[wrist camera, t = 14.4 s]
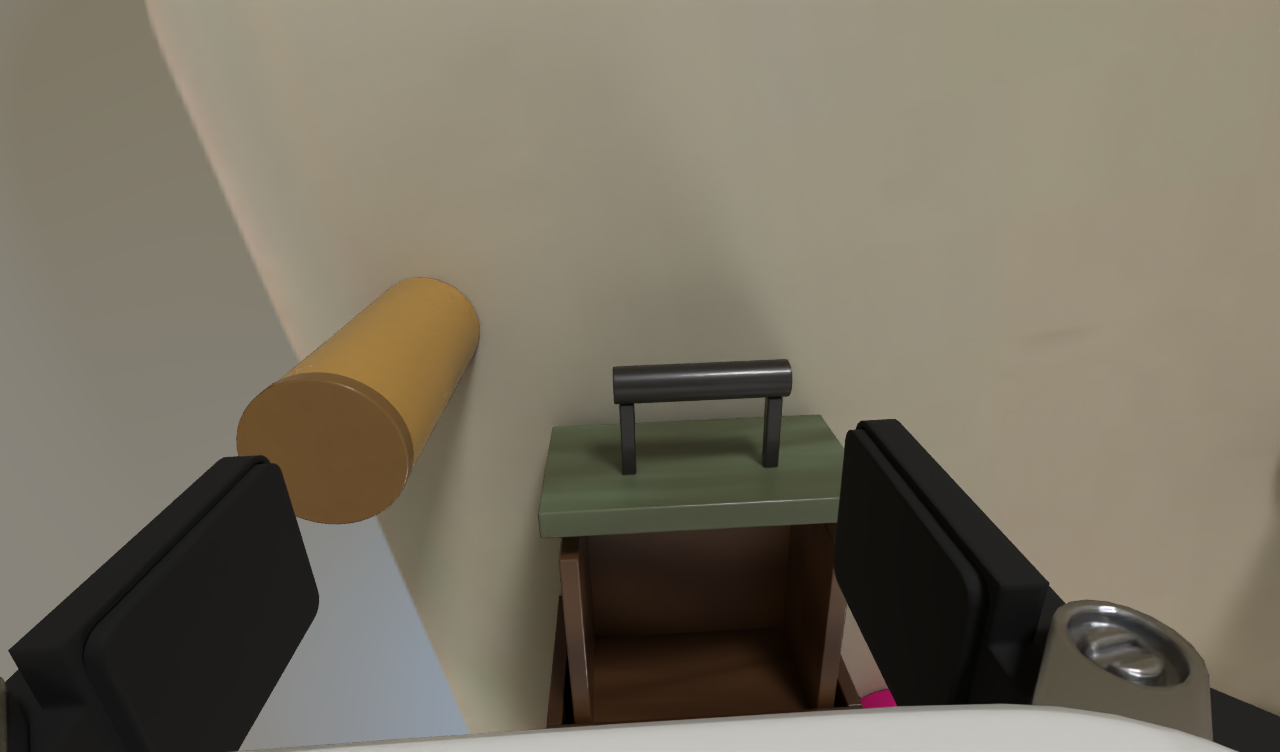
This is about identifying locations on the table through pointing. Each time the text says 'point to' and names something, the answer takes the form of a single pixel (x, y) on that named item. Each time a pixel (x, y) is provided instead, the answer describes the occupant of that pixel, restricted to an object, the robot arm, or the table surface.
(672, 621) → the drawer
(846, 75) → the table surface
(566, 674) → the cabinet
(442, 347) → the tin
